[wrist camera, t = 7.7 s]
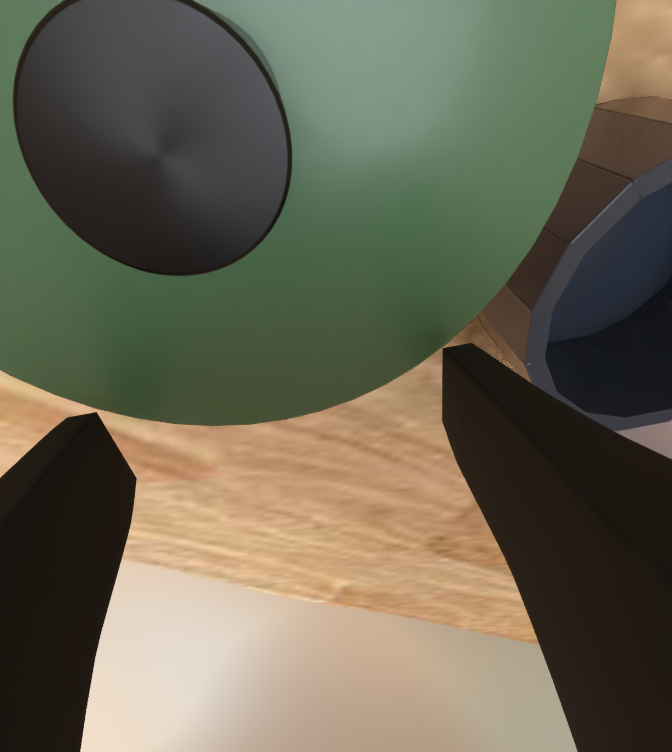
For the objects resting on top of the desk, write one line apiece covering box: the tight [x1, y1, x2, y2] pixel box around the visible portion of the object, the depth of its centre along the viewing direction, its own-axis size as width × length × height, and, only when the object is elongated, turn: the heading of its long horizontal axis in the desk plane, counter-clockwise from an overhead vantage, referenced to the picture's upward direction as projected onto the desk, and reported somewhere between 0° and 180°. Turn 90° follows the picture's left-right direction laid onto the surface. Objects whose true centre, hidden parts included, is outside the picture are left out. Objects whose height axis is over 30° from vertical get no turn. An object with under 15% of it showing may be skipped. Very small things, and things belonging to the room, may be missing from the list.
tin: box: [477, 96, 672, 431], centre depth 17 cm, size 11×11×6 cm
